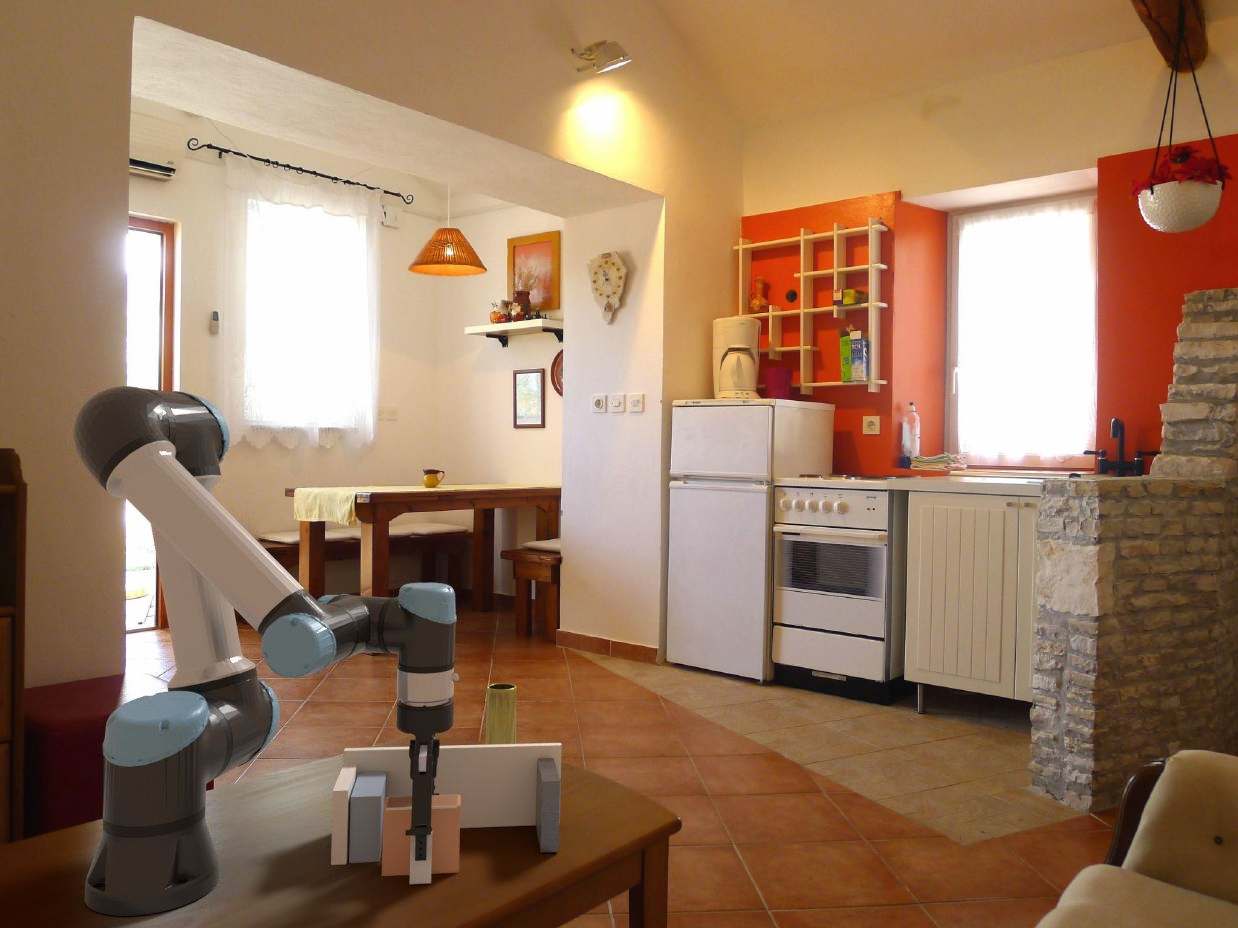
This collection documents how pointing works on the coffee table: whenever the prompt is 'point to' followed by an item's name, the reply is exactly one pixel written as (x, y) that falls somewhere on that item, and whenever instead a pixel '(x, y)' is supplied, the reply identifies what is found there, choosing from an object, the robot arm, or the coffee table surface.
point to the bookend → (547, 805)
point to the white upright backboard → (451, 783)
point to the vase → (501, 714)
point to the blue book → (367, 817)
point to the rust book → (398, 843)
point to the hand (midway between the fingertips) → (422, 865)
